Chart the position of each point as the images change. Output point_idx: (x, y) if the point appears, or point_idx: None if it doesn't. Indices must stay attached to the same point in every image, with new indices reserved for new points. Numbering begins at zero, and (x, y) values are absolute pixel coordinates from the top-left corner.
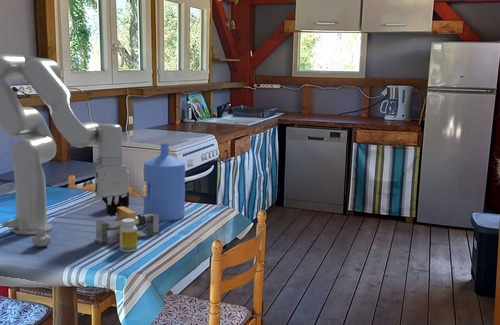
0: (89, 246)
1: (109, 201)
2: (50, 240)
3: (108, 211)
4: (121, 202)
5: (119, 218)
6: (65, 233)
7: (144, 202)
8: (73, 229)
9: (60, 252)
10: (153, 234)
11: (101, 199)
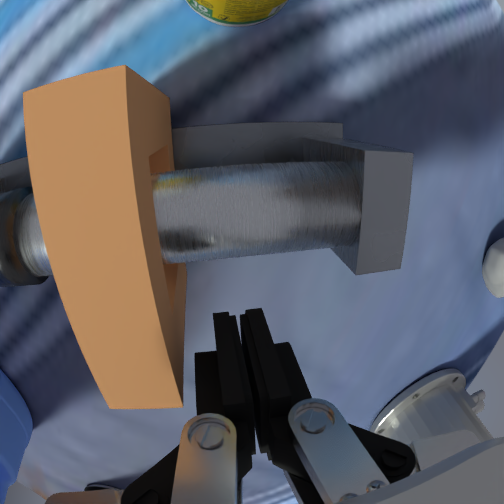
0: None
1: (326, 439)
2: (497, 249)
3: (293, 352)
4: None
5: (175, 293)
6: (379, 362)
7: (13, 457)
8: (333, 394)
9: (487, 156)
10: (6, 163)
11: (424, 449)
